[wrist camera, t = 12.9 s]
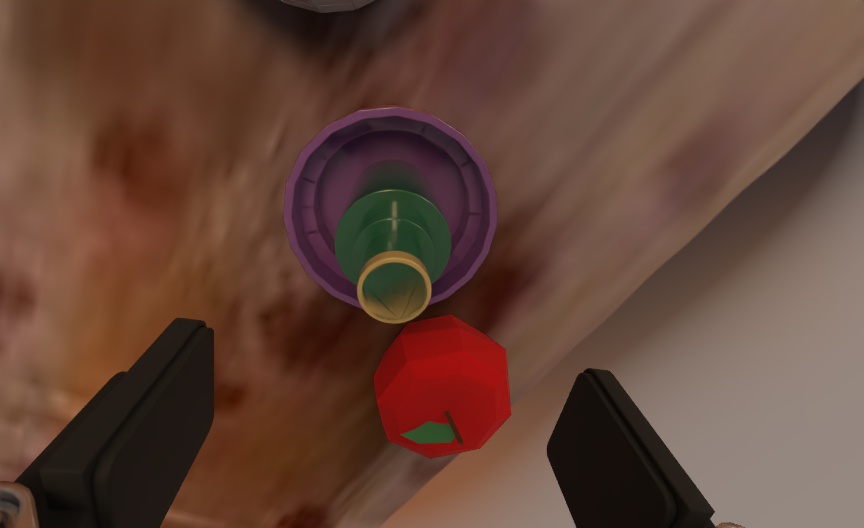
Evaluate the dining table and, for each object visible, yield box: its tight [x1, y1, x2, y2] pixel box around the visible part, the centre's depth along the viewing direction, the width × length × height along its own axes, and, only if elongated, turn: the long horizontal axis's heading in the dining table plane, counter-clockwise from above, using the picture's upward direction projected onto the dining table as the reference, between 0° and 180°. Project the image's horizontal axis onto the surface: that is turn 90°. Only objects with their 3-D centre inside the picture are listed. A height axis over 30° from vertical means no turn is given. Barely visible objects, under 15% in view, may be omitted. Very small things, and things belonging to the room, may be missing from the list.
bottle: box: [334, 159, 451, 324], centre depth 23 cm, size 6×6×14 cm
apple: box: [373, 314, 511, 459], centre depth 31 cm, size 11×11×10 cm
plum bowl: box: [283, 104, 497, 309], centre depth 27 cm, size 13×13×5 cm
